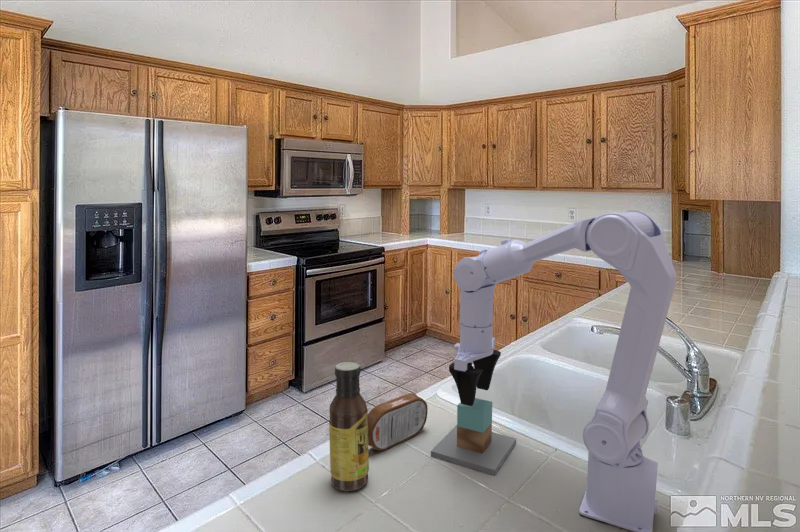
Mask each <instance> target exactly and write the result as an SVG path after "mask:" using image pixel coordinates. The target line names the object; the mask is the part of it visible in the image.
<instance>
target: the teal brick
mask: <svg viewBox="0 0 800 532" xmlns="http://www.w3.org/2000/svg"><path fill="white" fill-rule="evenodd" d="M456 407H457V409H456V410H457V411H456V412H457V413H456V417H457V419H456V425H457V426H459V427H463V428H466V429H470V430H474V431H478V432H482V433H484V431H485V430H486V429H487V428H488V426H489V425H490V424H491V423H492V424H493V401H490V400H486V399H482V398H477V397H475V401H474V404H473V405H472V406H469V405H464V404H461V401H460V402H459V403H458V404H457V405H456Z"/></svg>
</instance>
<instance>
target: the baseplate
mask: <svg viewBox="0 0 800 532" xmlns="http://www.w3.org/2000/svg"><path fill="white" fill-rule="evenodd" d="M516 444H517V437H513V436H508V435H504V434H501V433H497V432H494V431H493V432H492V441H491V444H490V445H489V446H488V447H487V449H486V450H485V451H484V453H483V454H482V453H478V452H475V451H471V450H468V449H464V448H461V447H457V424H456V425H455V426H454V427H453V428H451V430H450V431H449V432H448V433H447V434H446V435H445V436H444V437H443V438H442V439H441V440H440V441H439V442H438V443H437V444H436V445H435V446H434V447H433V448H432V449H431V450H430V457H432V458H435V459H439V460H443V461H445V462H448V463H452V464H456V465H459V466H462V467H465V468H469V469H472V470H476V471H477V472H478V471H479V472H482V473H485V474H489V475H491V476H496V475H497V473H498V471H499V470H500V469H501V467H502V465H503V464H504V463H505V461H506V460H507V459H508V457H509V455H510V453H511V452H512V451H513V449H514V447H515V446H516Z"/></svg>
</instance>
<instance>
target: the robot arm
mask: <svg viewBox="0 0 800 532" xmlns="http://www.w3.org/2000/svg"><path fill="white" fill-rule="evenodd" d="M574 249H576V250H579V251H581V252H590V251H592V252H593V254H594V255H595V256H596V257H598V258H600V259H601V260H602V261H603V262H605V263H606V264H608V265H610V266H611V267H613V268H614V269H616V270H617V271H618V272H619V273H620V274H621V276H622V277H623V279H625V280H626V282H627V283H628V284H629V285H630V289H629V294H628V297H627V301H626V306H625V309H624V314H623V317H622V322H621V326H620V330H619V334H618V338H617V343H616V346H615V351H614V355H613V359H612V363H611V366H610V371H609V375H608V379H607V382H606V387H605V390H604V392H603V394H602V395H601V396H602V397H601V398H600V399H599V400H600V401H598V403H597V405H596V407H595V411H594V415H593V417H592V419H590V421H587V423H586V424H585V425H584V428H583V430H582V439H583V443H584V446H585V448H586V449H587V451H588V454H587V455H588V456H587V473H586V475H587V476H586V489H585V492H584V495H583V498H582V500H581V503H580V506H579V509H578V513H579V515H581V516H584V517H587V518H590V519H593V520H596V521H600V522H604V523H607V524H610V525H613V526H616V527H618V528H623V529H625V530H628V531H632V532H653V526H654V518H655V516H654V515H657V513H658V501H659V500H657V499H656V495H657V494H656V492H657V483H658V482H657V480H658V479H657V478H658V466H659V463H658V462H657V461H655V460H652V459H650V458H648V457H645V456H644V453H643V450H642V449H643V448H642V447H641V443H640V442H641V440H642V439H644V438H645V437H646V436H647V434H648V432H649V430H650V429H649V427H650V422H649V417H648V415H647V409H648V404H649V400H648V399H647V397H646V394H647V392H648V387H649V383H650V379H651V375H652V373H653V369H654V364H655V362H656V357H657V354H658V350H659V346H660V343H661V339H662V335H663V333H664V332H663V331H664V328H665V324H666V320H667V315H668V312H669V310H670V305H671V303H672V298H673V294H674V291H675V287H676V283H677V273H676V269H675V268H674V264H673V261H672V258H671V255H670V252H669V250H668V247H667V245H666V242H665V232H664V230H663V229H662V228H661V226H660V225H659V224H658V223H657V222H656V221H655V220H654V219H653V218H652V217H651V216H650V215H649V214H647V213H646V212H643V211H641V210H628V211H624V212H606V213H601V215H598V216H595V217H590V218H585V219H581V220H578V221H577V220H576V221H574V222H571V223H569V224H567V225H565V226H562V227H560V228H558V229H556V230H553V231H552V232H549V233H547V234H545V235H542V236H541V237H538V238H536V239H534V240H531V241H529V242H527V243H526V242H524V241H522V240H520V239H514V240H513V239H512V238H505V239H504V240H501V241H500V245H499V246H497V247H493V248H491V249H489V250H488V249H485V248H484V249H482V250H480V251H478V255H477V256H472V257H471V256H465V257H463V258H462V259H461V260H458V262H457V263H456V264H455V267H454V269H453V278H454V281H455V283H456V286H458V288H460V293H459V295H460V297H459V298H460V300H459V301H460V303H459V304H460V305H459V307H460V308H459V310H460V312H459V316H460V317H459V342H457V343H456V344H453V349H454V350H456V351H457V355H456V357H454V361H453V362H452V363H450V364H449V365H448V371H449V373H450V375H451V376H452V378H453V380H454V382H455V386H456V389H457V391H458V396H459V401H460V402H461V404H464V405H469V406H472V405H473V404H474V401H475V398H476V394H477V389H479V390H484V391H488V390H489V389H490V386H491V382H492V378H493V375H494V370H495V367H496V365H497V363H498V361H499V359H500V358H501V355H502V353H501V351H499V350H497V349H496V350H495V347H496V346H495V345H496V338H495V337H493V328H494V325H493V323H494V320H493V319H494V294H495V288H496V285H497V284H498V283H499V284H500V283H501V282H504V281H507V280H510V279H514V278H516V277H519V276H521V275H525V274H527V273H530V271H531V270H532V268H533V266H534V263H535V262H536V261H537V262H538V261H540V260H543V259H546V258H549V257H552V256H556V255H558V254H561V253H565V252H568V251H570V250H574Z"/></svg>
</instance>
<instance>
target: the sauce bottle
mask: <svg viewBox="0 0 800 532" xmlns="http://www.w3.org/2000/svg"><path fill="white" fill-rule="evenodd" d="M334 375H335V379H336V381H335V383H336V389H335V396H334V398H333V399H332V401H331V403H330V405H329V421H328V422H329V423H328V425H329V428H328V429H329V431H328V432H329V461H330V463H329V465H330V467H329V468H330V477H331V478H330V480H331V484H332V486H333V487H334V488H335V489H336V490H338V491H343V492H350V491H351V492H352V491H357V490H359V489H361V488H363V487H364V486H365V485H366V484H367V483H368V480H369V471H370V469H369V468H370V465H369V464H370V463H369V462H370V459H369V458H370V457H369V445H368V413H369V412H368V410H369V409H368V404H367V402H366V400H365V398H363V396H362V395H361V393H360V392H361V387H360V375H361V365H360V364H359V363H358V362H357V363H356V362H352V361H344V362H340V363H338V364H336V365H335V367H334Z"/></svg>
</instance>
